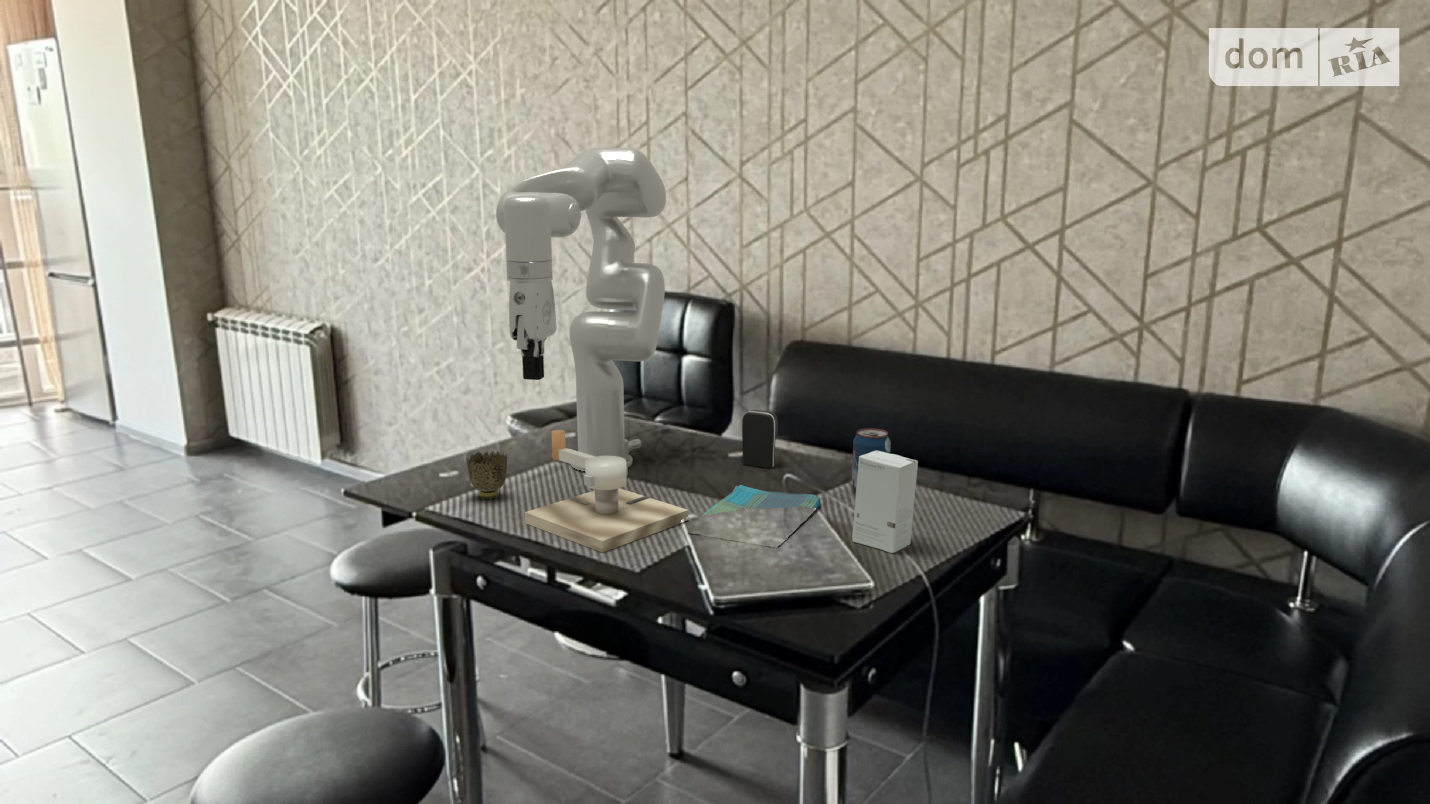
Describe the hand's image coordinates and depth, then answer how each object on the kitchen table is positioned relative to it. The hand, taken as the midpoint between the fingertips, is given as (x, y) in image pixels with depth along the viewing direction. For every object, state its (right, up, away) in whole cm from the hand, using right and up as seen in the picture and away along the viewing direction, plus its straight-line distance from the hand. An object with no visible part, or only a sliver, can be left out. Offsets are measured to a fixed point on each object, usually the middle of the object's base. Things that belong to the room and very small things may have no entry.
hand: (533, 378), depth 178 cm
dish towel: (+38, -25, +6) cm, 46 cm away
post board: (+12, -25, +3) cm, 28 cm away
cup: (-11, -22, +16) cm, 29 cm away
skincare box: (+59, -28, -6) cm, 65 cm away
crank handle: (+8, -17, +5) cm, 20 cm away
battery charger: (+40, -17, +37) cm, 57 cm away
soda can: (+60, -21, +19) cm, 67 cm away
